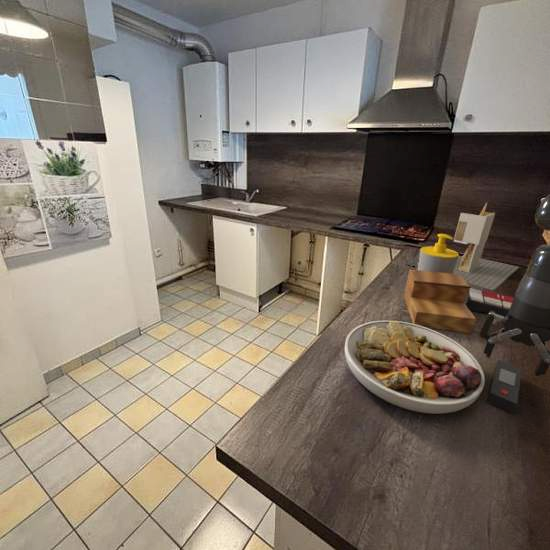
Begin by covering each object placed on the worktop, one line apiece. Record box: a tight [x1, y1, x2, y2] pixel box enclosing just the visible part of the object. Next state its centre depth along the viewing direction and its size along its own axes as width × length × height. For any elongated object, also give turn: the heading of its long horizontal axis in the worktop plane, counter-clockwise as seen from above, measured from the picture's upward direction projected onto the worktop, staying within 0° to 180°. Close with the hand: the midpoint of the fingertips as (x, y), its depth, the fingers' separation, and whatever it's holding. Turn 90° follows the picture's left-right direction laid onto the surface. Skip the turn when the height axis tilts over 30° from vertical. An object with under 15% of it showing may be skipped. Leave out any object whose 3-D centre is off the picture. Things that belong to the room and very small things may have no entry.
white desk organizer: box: [453, 202, 496, 273], centre depth 133 cm, size 10×16×29 cm, turn 131°
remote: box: [486, 359, 523, 415], centre depth 65 cm, size 14×5×3 cm, turn 139°
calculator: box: [465, 287, 514, 317], centre depth 100 cm, size 11×4×15 cm
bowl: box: [344, 320, 485, 415], centre depth 70 cm, size 30×30×8 cm
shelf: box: [403, 269, 477, 334], centre depth 95 cm, size 16×20×11 cm
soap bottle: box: [416, 233, 459, 274], centre depth 112 cm, size 13×13×21 cm
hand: (511, 364), depth 63 cm, fingers open, 8 cm apart
